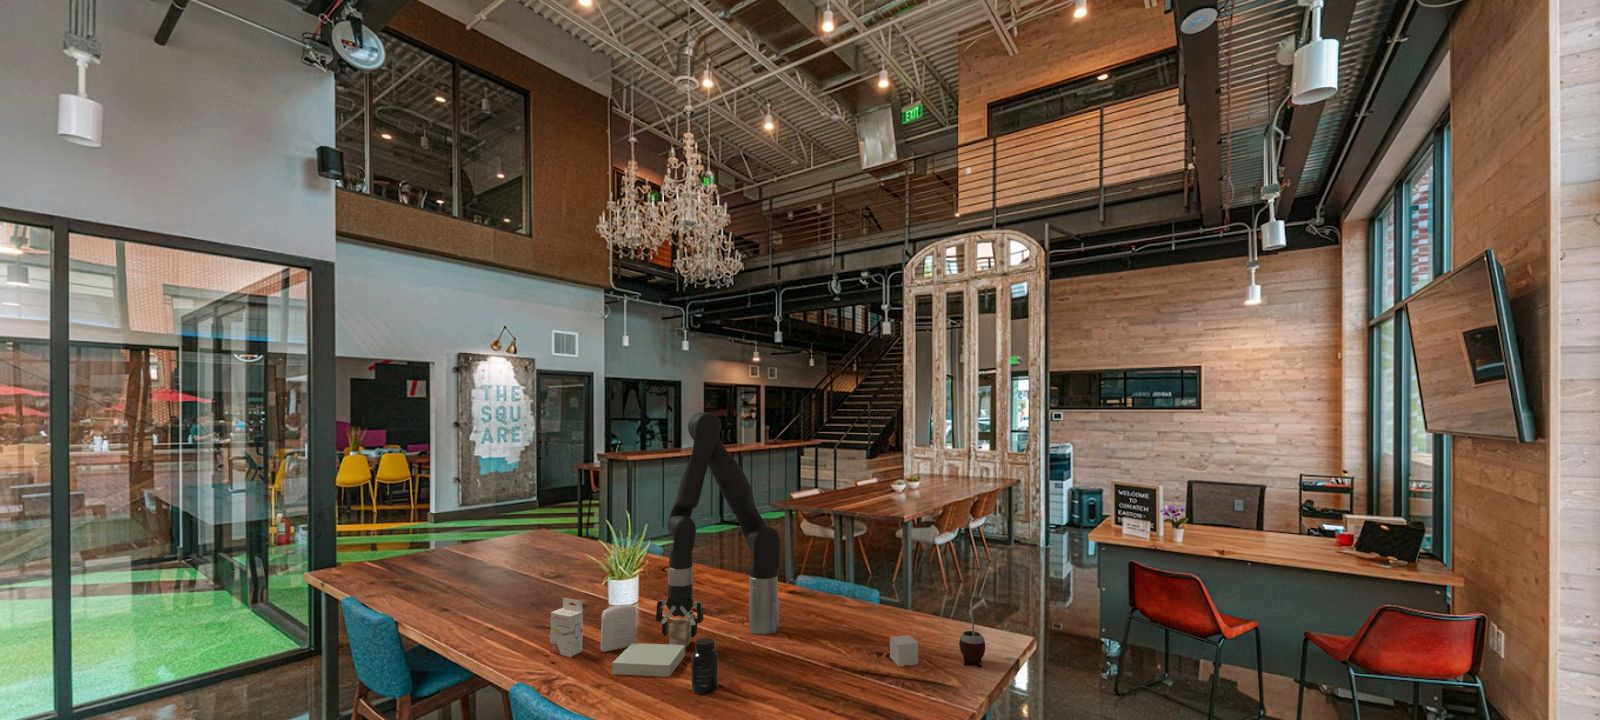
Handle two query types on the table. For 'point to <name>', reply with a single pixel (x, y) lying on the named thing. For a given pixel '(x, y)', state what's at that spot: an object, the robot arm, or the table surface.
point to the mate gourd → (972, 645)
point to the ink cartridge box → (567, 629)
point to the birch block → (680, 632)
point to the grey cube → (904, 650)
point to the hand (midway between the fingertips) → (679, 636)
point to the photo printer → (618, 627)
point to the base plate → (649, 660)
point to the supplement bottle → (705, 667)
